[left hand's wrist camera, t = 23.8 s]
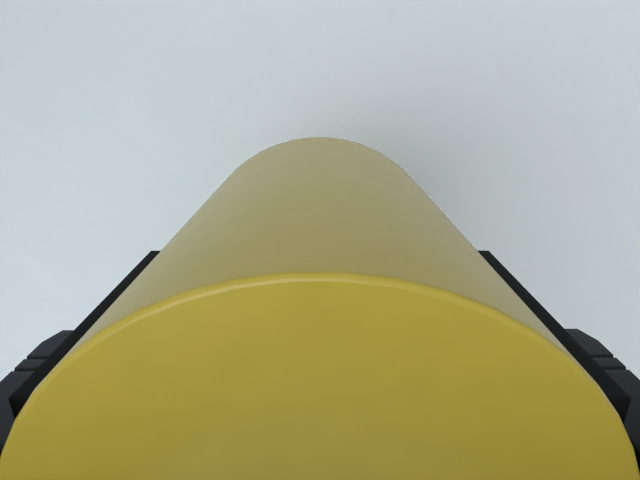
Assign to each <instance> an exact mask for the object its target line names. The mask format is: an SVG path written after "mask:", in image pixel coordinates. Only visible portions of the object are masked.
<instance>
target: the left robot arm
mask: <svg viewBox="0 0 640 480" xmlns="http://www.w3.org/2000/svg"><path fill="white" fill-rule="evenodd" d="M478 252H479V253H480V255H481V256H482V257H483V258H484V259H485V260H486V261H487V262H488V263H489V264H490V266H491V267H492V268H493V269H494V270H495V271H496V272H497V273H498V274H499V275H500V277H501V278H502V279H503V280H504V281H505V282H506V283H507V284H508V285H509V287H510V288H511V289H512V290H513V291H514V292H515V293H516V294H517V295H518V296H519V298H520V299H521V300H522V301H523V302H524V303H525V304H526V305H527V306H528V308H529V309H530V310H531V311H532V312H533V313H534V314H535V315H536V316H537V317H538V319H539V320H540V321H541V322H542V323H543V324H544V325H545V326H546V327H547V328H548V330H549V331H550V332H551V333H552V334H553V335H554V336H555V337H556V338H557V340H558V341H559V342H560V343H561V344H562V345H563V346H564V347H565V348H566V349H567V351H568V352H569V353H570V354H571V355H572V356H573V357H574V358H575V359H576V361H577V362H578V363H579V364H580V365H581V366H582V367H583V368H584V369H585V370H586V372H587V373H588V374H589V375H590V376H591V377H592V378H593V379H594V380H595V381H596V383H597V384H598V385H599V386H600V388H601V389H602V391H603V392H604V394H605V395H606V397H607V398H608V400H609V401H610V403H611V404H612V405H613V407H614V408H615V410H616V411H617V413H618V414H619V416H620V418H621V421H622V423H623V425H624V427H625V430H626V432H627V434H628V436H629V439H630V441H631V443H632V445H633V448H634V452H635V456H636V461H637V465H638V469H639V474H640V380H639V379H638V378H637V377H636V376H635V375H634V374H633V373H632V372H631V371H630V370H626V367H625V366H624V365H623V364H622V363H621V362H620V361H619V360H618V359H617V358H613V354H612V353H611V352H609V351H608V350H607V349H606V348H605V347H604V346H603V345H602V344H601V343H600V342H599V341H598V340H596V339H594V338H592V337H591V336H589V335H587V334H585V333H583V332H582V331H580V330H578V329H564V328H563V327H562V326H561V325H560V324H559V323H558V322H557V321H556V320H555V319H554V318H553V317H552V316H551V315H550V314H549V313H548V312H547V311H546V310H545V309H544V308H543V307H542V306H541V305H540V303H539V302H538V301H537V300H536V299H535V298H534V297H533V296H532V295H531V294H530V293H529V292H528V291H527V290H526V289H525V288H524V287H523V286H522V285H521V284H520V283H519V282H518V281H517V280H516V279H515V278H514V277H513V276H512V275H511V274H510V273H509V272H508V270H507V269H506V268H505V267H504V266H503V265H502V264H501V263H500V262H499V261H498V260H497V259H496V258H495V257H494V256H493V255H492V254H491V253H490V252H489V251H478ZM159 253H160V251H151V252H150V253H149V254H148V255H147V256H146V257H145V258H144V259H143V260H142V261H141V262H140V263H139V264H138V265H137V266H136V267H135V268H134V269H133V270H132V271H131V272H130V273H129V274H128V275H127V276H126V277H125V278H124V279H123V280H122V282H121V283H120V284H119V285H118V286H117V287H116V288H115V289H114V290H113V291H112V292H111V293H110V294H109V295H108V296H107V297H106V298H105V299H104V300H103V301H102V302H101V303H100V304H99V305H98V306H97V307H96V308H95V309H94V310H93V311H92V312H91V313H90V315H89V316H88V317H87V318H86V319H85V320H84V321H83V322H82V323H81V324H80V325H79V326H78V327H77V328H76V329H75V330H63V331H61V332H59V333H57V334H56V335H54V336H52V337H50V338H49V339H47V340H45V341H43V342H42V343H41V344H40V345H39V346H38V347H36V348H35V349H34V350H33V351H32V352H31V353H30V354H29V355H28V356H27V359H24V360H23V361H22V362H21V363H20V364H19V365H18V366H17V367H16V368H15V370H14V371H11V372H10V373H9V374H8V375H7V376H6V377H5V378H4V379H3V380H2V381H1V382H0V457H1V453H2V450H3V448H4V445H5V443H6V440H7V438H8V435H9V433H10V430H11V428H12V425H13V423H14V421H15V419H16V417H17V416H18V414H19V412H20V411H21V409H22V408H23V406H24V405H25V403H26V402H27V400H28V398H29V397H30V395H31V394H32V392H33V391H34V389H35V388H36V387H37V386H38V385H39V383H40V382H41V381H42V380H43V379H44V378H45V377H46V376H47V375H48V374H49V373H50V371H51V370H52V369H53V368H54V367H55V366H56V365H57V364H58V363H59V362H60V361H61V359H62V358H63V357H64V356H65V355H66V354H67V353H68V352H69V351H70V350H71V349H72V347H73V346H74V345H75V344H76V343H77V342H78V341H79V340H80V339H81V338H82V337H83V335H84V334H85V333H86V332H87V331H88V330H89V329H90V328H91V327H92V326H93V325H94V323H95V322H96V321H97V320H98V319H99V318H100V317H101V316H102V315H103V314H104V313H105V311H106V310H107V309H108V308H109V307H110V306H111V305H112V304H113V303H114V302H115V301H116V299H117V298H118V297H119V296H120V295H121V294H122V293H123V292H124V291H125V290H126V289H127V287H128V286H129V285H130V284H131V283H132V282H133V281H134V280H135V279H136V278H137V277H138V275H139V274H140V273H141V272H142V271H143V270H144V269H145V268H146V267H147V266H148V265H149V263H150V262H151V261H152V260H153V259H154V258H155V257H156V256H157V255H158V254H159Z"/></svg>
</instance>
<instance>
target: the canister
mask: <svg viewBox="0 0 640 480" xmlns="http://www.w3.org/2000/svg"><path fill="white" fill-rule="evenodd" d="M0 480H640V474H639V469H638V465H637V461H636V456H635V452H634V448H633V445H632V443H631V441H630V439H629V436H628V434H627V432H626V430H625V427H624V425H623V423H622V421H621V418H620V416H619V414H618V413H617V411H616V410H615V408H614V407H613V405H612V404H611V403H610V401H609V400H608V398H607V397H606V395H605V394H604V392H603V391H602V389H601V388H600V386H599V385H598V384H597V383H596V381H595V380H594V379H593V378H592V377H591V376H590V375H589V374H588V373H587V372H586V370H585V369H584V368H583V367H582V366H581V365H580V364H579V363H578V362H577V361H576V359H575V358H574V357H573V356H572V355H571V354H570V353H569V352H568V351H567V349H566V348H565V347H564V346H563V345H562V344H561V343H560V342H559V341H558V340H557V338H556V337H555V336H554V335H553V334H552V333H551V332H550V331H549V330H548V328H547V327H546V326H545V325H544V324H543V323H542V322H541V321H540V320H539V319H538V317H537V316H536V315H535V314H534V313H533V312H532V311H531V310H530V309H529V308H528V306H527V305H526V304H525V303H524V302H523V301H522V300H521V299H520V298H519V296H518V295H517V294H516V293H515V292H514V291H513V290H512V289H511V288H510V287H509V285H508V284H507V283H506V282H505V281H504V280H503V279H502V278H501V277H500V275H499V274H498V273H497V272H496V271H495V270H494V269H493V268H492V267H491V266H490V264H489V263H488V262H487V261H486V260H485V259H484V258H483V257H482V256H481V255H480V253H479V252H478V251H477V250H476V249H475V248H474V247H473V246H472V245H471V243H470V242H469V241H468V240H467V239H466V238H465V237H464V236H463V235H462V234H461V232H460V231H459V230H458V229H457V228H456V227H455V226H454V225H453V224H452V222H451V221H450V220H449V219H448V218H447V217H446V216H445V215H444V214H443V213H442V211H441V210H440V209H439V208H438V207H437V206H436V205H435V204H434V203H433V202H432V200H431V199H430V198H429V197H428V196H427V195H426V194H425V193H424V192H423V190H422V189H421V188H420V187H419V186H418V185H417V184H416V183H415V182H414V181H413V179H412V178H411V177H410V176H409V175H408V174H407V173H406V172H405V171H404V170H403V169H402V168H401V167H399V166H398V165H397V164H396V163H394V162H393V161H392V160H390V159H389V158H387V157H386V156H384V155H382V154H381V153H379V152H377V151H375V150H373V149H371V148H368V147H366V146H364V145H361V144H358V143H354V142H351V141H347V140H342V139H334V138H304V139H297V140H292V141H288V142H285V143H281V144H278V145H275V146H273V147H270V148H268V149H266V150H264V151H261V152H260V153H258V154H256V155H255V156H253V157H252V158H250V159H248V160H247V161H246V162H244V163H243V164H242V165H241V166H240V167H238V168H237V169H236V170H235V171H234V172H233V173H232V174H231V175H230V176H229V177H228V178H227V179H226V181H225V182H224V183H223V184H222V185H221V186H220V187H219V188H218V189H217V190H216V191H215V193H214V194H213V195H212V196H211V197H210V198H209V199H208V200H207V201H206V202H205V203H204V205H203V206H202V207H201V208H200V209H199V210H198V211H197V212H196V213H195V214H194V215H193V217H192V218H191V219H190V220H189V221H188V222H187V223H186V224H185V225H184V226H183V227H182V229H181V230H180V231H179V232H178V233H177V234H176V235H175V236H174V237H173V238H172V239H171V241H170V242H169V243H168V244H167V245H166V246H165V247H164V248H163V249H162V250H161V251H160V253H159V254H158V255H157V256H156V257H155V258H154V259H153V260H152V261H151V262H150V263H149V265H148V266H147V267H146V268H145V269H144V270H143V271H142V272H141V273H140V274H139V275H138V277H137V278H136V279H135V280H134V281H133V282H132V283H131V284H130V285H129V286H128V287H127V289H126V290H125V291H124V292H123V293H122V294H121V295H120V296H119V297H118V298H117V299H116V301H115V302H114V303H113V304H112V305H111V306H110V307H109V308H108V309H107V310H106V311H105V313H104V314H103V315H102V316H101V317H100V318H99V319H98V320H97V321H96V322H95V323H94V325H93V326H92V327H91V328H90V329H89V330H88V331H87V332H86V333H85V334H84V335H83V337H82V338H81V339H80V340H79V341H78V342H77V343H76V344H75V345H74V346H73V347H72V349H71V350H70V351H69V352H68V353H67V354H66V355H65V356H64V357H63V358H62V359H61V361H60V362H59V363H58V364H57V365H56V366H55V367H54V368H53V369H52V370H51V371H50V373H49V374H48V375H47V376H46V377H45V378H44V379H43V380H42V381H41V382H40V383H39V385H38V386H37V387H36V388H35V389H34V391H33V392H32V394H31V395H30V397H29V398H28V400H27V402H26V403H25V405H24V406H23V408H22V409H21V411H20V412H19V414H18V416H17V417H16V419H15V421H14V423H13V425H12V428H11V430H10V433H9V435H8V438H7V440H6V443H5V445H4V448H3V450H2V453H1V457H0Z"/></svg>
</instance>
